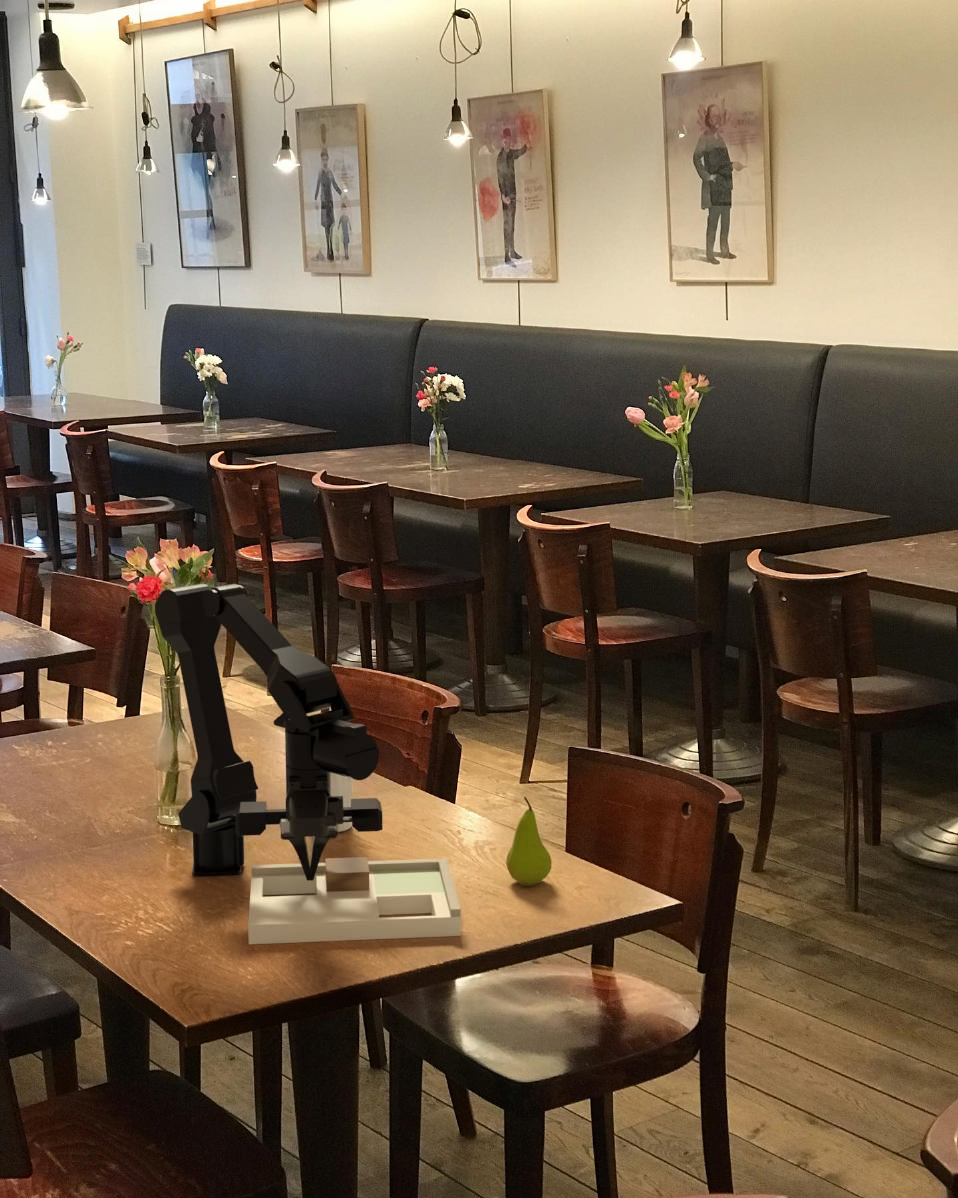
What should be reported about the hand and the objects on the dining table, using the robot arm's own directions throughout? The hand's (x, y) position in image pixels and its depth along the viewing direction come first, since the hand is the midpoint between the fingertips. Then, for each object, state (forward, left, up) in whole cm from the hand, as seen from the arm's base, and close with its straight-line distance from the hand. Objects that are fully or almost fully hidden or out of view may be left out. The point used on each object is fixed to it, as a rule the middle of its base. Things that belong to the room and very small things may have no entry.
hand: (310, 879), depth 208 cm
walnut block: (+5, 0, -1) cm, 5 cm away
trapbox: (+5, -3, -3) cm, 7 cm away
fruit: (+29, +5, -4) cm, 30 cm away
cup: (+3, +30, -4) cm, 30 cm away
